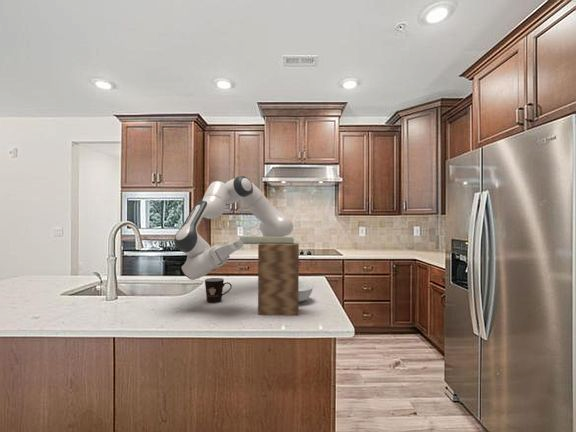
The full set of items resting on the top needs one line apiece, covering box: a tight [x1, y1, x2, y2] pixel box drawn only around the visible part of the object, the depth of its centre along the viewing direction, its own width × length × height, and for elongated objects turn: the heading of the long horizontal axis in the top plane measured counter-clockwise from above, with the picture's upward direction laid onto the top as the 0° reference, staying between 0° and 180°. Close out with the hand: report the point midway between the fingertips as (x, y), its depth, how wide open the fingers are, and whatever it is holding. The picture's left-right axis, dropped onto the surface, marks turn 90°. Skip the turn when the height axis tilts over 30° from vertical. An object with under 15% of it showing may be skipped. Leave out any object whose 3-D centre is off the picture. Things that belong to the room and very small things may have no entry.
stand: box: [257, 242, 300, 316], centre depth 146 cm, size 16×10×28 cm, turn 87°
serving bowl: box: [298, 282, 313, 303], centre depth 165 cm, size 21×21×7 cm
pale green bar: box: [239, 235, 295, 245], centre depth 146 cm, size 22×4×3 cm, turn 87°
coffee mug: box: [204, 277, 233, 304], centre depth 162 cm, size 12×9×10 cm
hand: (247, 238), depth 147 cm, fingers closed on pale green bar, 4 cm apart
